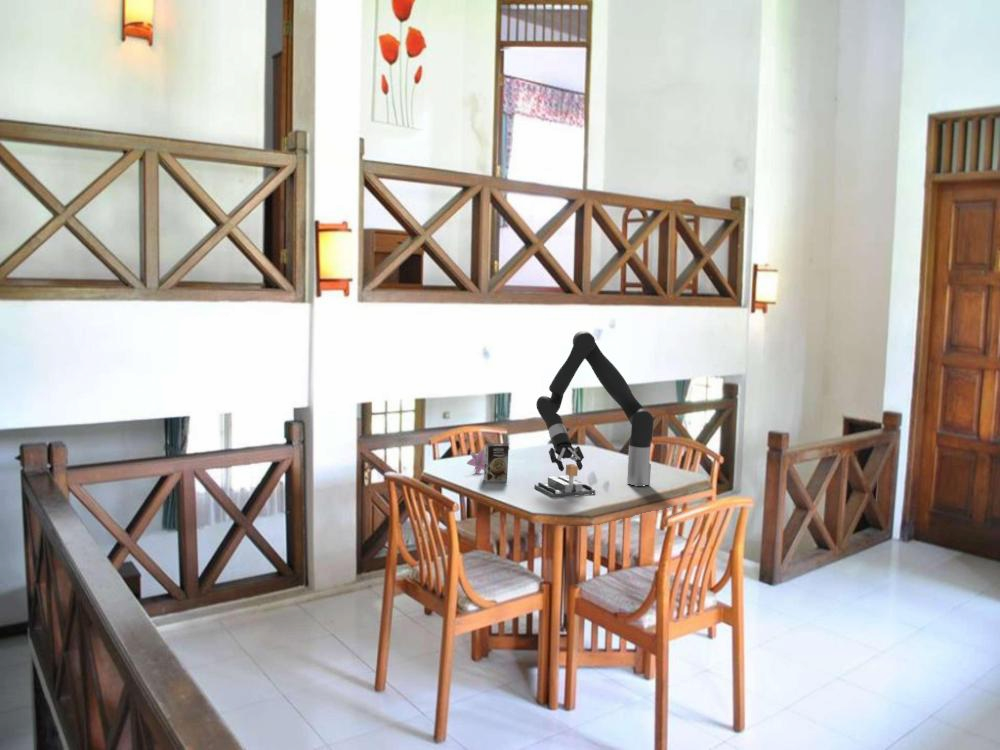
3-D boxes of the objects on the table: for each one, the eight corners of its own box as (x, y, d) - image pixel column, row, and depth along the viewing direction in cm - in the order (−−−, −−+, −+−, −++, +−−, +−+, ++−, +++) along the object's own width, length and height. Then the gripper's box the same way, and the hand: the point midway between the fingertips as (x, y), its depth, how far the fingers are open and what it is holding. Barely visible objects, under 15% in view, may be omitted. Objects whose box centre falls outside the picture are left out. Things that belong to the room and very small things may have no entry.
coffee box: (487, 482, 354) (488, 445, 352) (483, 479, 360) (484, 442, 358) (507, 482, 356) (509, 445, 354) (503, 478, 362) (505, 442, 360)
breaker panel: (575, 484, 356) (576, 474, 356) (595, 493, 342) (595, 483, 341) (534, 488, 348) (534, 477, 347) (552, 497, 333) (553, 486, 333)
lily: (461, 475, 369) (469, 459, 365) (463, 460, 380) (470, 444, 375) (486, 484, 371) (494, 467, 367) (487, 468, 382) (495, 452, 377)
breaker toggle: (571, 487, 342) (572, 464, 341) (576, 490, 339) (577, 466, 338) (564, 488, 341) (566, 464, 340) (569, 490, 337) (570, 466, 336)
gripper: (547, 432, 342) (560, 465, 333) (577, 431, 348) (590, 463, 339) (541, 442, 348) (553, 475, 338) (570, 441, 354) (583, 473, 344)
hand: (571, 469), depth 339 cm, fingers open, 8 cm apart
